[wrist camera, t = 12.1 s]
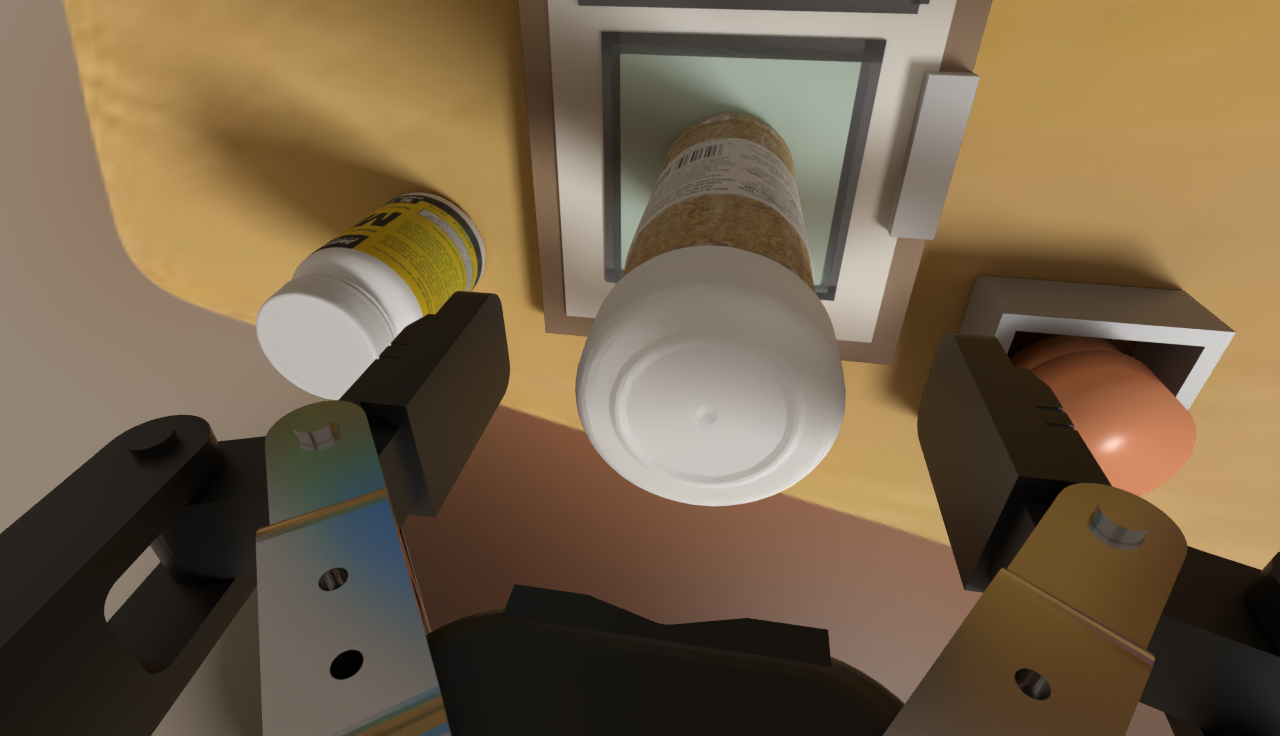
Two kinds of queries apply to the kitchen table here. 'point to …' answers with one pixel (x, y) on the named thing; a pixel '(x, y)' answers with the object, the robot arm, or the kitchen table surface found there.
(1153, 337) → the button collar
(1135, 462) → the button
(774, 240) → the spice bottle
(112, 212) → the kitchen table surface
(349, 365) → the supplement bottle
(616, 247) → the colouring board
